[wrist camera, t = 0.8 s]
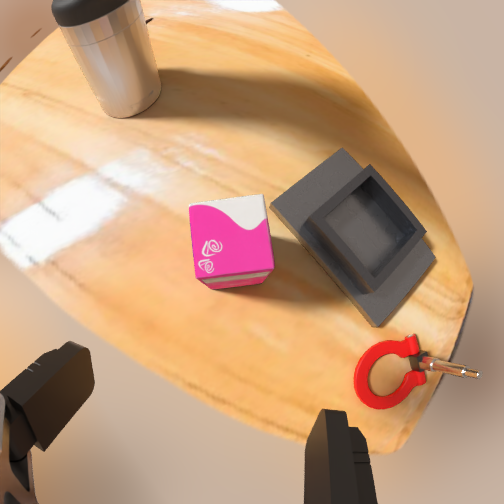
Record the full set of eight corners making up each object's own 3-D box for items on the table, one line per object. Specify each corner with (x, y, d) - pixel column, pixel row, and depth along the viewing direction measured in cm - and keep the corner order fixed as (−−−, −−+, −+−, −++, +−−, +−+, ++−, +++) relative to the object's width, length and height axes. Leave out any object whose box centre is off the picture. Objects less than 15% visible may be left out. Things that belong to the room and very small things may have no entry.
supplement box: (202, 238, 33) (187, 199, 21) (256, 231, 33) (268, 190, 22) (208, 291, 32) (194, 279, 20) (263, 284, 32) (280, 268, 21)
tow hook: (361, 417, 30) (424, 385, 31) (412, 461, 17) (489, 407, 18) (343, 356, 32) (410, 326, 32) (395, 379, 19) (478, 328, 20)
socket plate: (269, 207, 34) (274, 192, 29) (338, 153, 36) (350, 134, 32) (372, 326, 32) (390, 327, 27) (429, 259, 34) (449, 252, 30)
